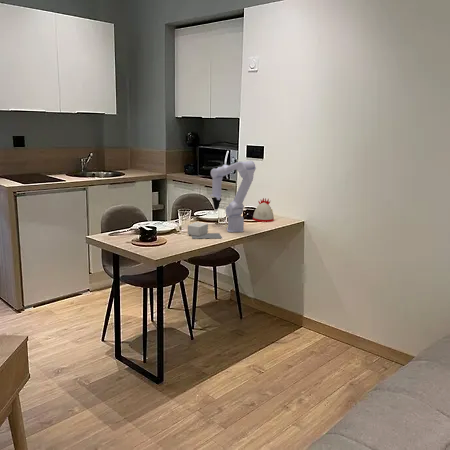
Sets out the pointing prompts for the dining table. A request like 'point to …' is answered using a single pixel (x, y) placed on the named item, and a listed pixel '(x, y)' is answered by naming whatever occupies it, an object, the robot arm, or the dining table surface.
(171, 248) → the dining table surface
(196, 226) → the small box
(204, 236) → the mat
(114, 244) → the dining table surface
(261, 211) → the spiked white dome
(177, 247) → the dining table surface
